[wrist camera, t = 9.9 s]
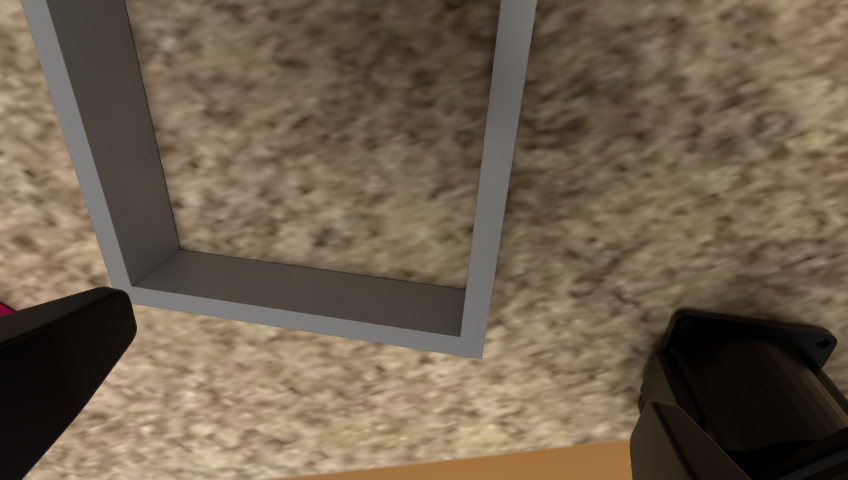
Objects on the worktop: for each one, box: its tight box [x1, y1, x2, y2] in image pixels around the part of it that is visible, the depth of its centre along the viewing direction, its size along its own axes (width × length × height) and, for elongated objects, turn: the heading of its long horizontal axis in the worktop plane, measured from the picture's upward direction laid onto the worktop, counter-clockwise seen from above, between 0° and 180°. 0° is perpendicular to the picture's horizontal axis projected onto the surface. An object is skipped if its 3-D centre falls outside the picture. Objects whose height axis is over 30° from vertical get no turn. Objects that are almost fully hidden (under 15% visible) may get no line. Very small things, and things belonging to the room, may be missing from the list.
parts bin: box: [20, 0, 537, 359], centre depth 18 cm, size 17×17×4 cm
